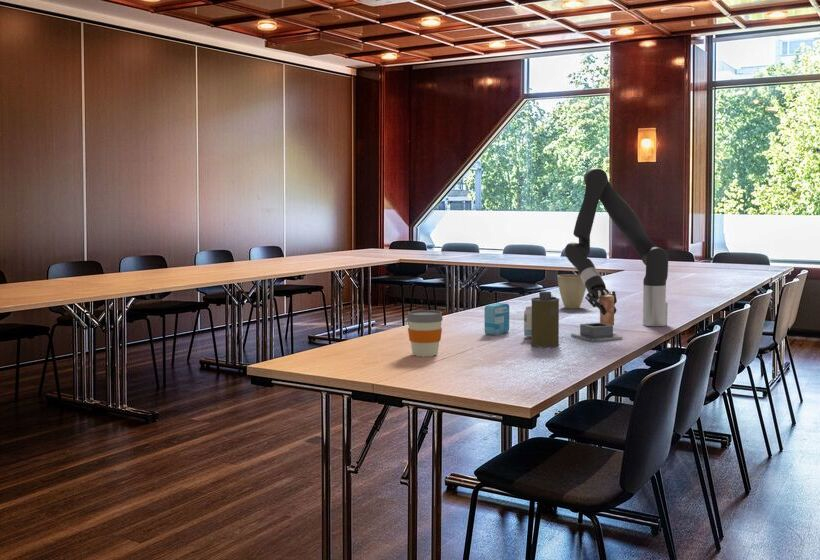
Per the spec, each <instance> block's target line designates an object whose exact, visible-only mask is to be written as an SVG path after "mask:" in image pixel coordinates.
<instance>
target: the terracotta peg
mask: <svg viewBox="0 0 820 560" xmlns="http://www.w3.org/2000/svg"><path fill="white" fill-rule="evenodd" d="M600 298H601V302H602V305H603V306H604V308H605V309H606V311H607V313H606V314H605V315H603V314H602V313H601V312H600V311H599V323H603V324H607V325H611V326H613V327H614V326H615V314H614V306H615V305H614V296H612V295H601V296H600Z"/></svg>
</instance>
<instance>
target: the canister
mask: <svg viewBox="0 0 820 560" xmlns="http://www.w3.org/2000/svg"><path fill="white" fill-rule="evenodd" d="M538 294H539V296H538V297H532V298H530V301H531V307H532V339H531V343H530V345H531V346H532V347H536V348H537V347H538V348H556V347H558V346H560V341H559V338H560V335H559V333H560V332H559V329H560V325H559V324H560V323H559V322H560V319H559V318H560V317H559V316H560V306H559V305H560V298H559V297H556V296H553V295H552V292H551V291H540V292H538Z"/></svg>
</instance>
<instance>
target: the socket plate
mask: <svg viewBox="0 0 820 560" xmlns="http://www.w3.org/2000/svg"><path fill="white" fill-rule="evenodd" d="M570 336H571V337H572V336H573V338H576V339H579V338H580V340H584V341H587V342H591V343H594V342H603V341H616V340H623V336H621V335H617V334H614V325H613V326H611V325H607V324H603V323H600V322H592V323H581V324H579V332H577V333H576V332H575V333H571V335H570Z"/></svg>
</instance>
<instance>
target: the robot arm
mask: <svg viewBox="0 0 820 560" xmlns="http://www.w3.org/2000/svg"><path fill="white" fill-rule="evenodd" d="M583 183H584V184H585V190H584V196H583V200H582V204H581V206H580V209H579V212H578V213H577V214H578V215H577V217H576V221H575V225H574V229H573V236H574V237H575V238H578V242H569V243H567V244H566V245H565V248H564V254H565V257H566V258H567V260H568V261H569V262H570V263H571V264H572V266H573V267H574V268H575V269H576V270H577V272H578V275H580V276H581V278H582V281H583V283H584V285H585V287H586V291H587V292H588V293H586V295H585V296H584V297H585V300H586V301H587V302H588V303H589V304H590V305H591V306H592V308H597V309H598V310H599V313H600V312H601V313H602V314H603V315H605V314H606V313H607V311H606V309H605V308H604V306H603V305H602V302H601V298H600V296H601V295H612V296H614V315H615V314H616V313H617V312H618V311H617V308H616V306H615V305H616V303H617V302H618V301H617V295H616V291H614V290H613V291H609V290H608V289H607V287H606V283H605V282H604V280H603V278H602V276H601V274H600V273H599V271H598V270H597V268H596V266H595V264H594V263H593V261H592V260H591V259H590V258H588V257H589V255H590V251H591V233H592V229H593V226H594V225H593V224H594V221H595V220H594V219H595V217H596V212H597V209H598V206H599V202H601V204H602V206H603V208H604V209H605V211H606V213H607V214H608V216H609V217H610V219H611V220H612V222H613V224H615V226H616V227H617V228H618V230H619V231H620V233H621V234H622V235H623V236H624V237H625V238H626V240H627V241H628V242H629V243H630V244H631V246H632V247H633V248H634V250H635V251H636V253H637V254H638V256H639V258H640V260H641V261H642V263H643V264H644V265H645V275H644V278H643V289H642V290H643V291H642V292H643V293H642V294H643V295H642V325H643V326H645V327H664V326H667V325H668V302H666V300H667V296H666V294H667V291H666V290H667V279H668V275H669V272H668V271H669V256H668V252H667V251H666V250H664V249H663V248H661V247H658V246H657V245H656V244H654V242H653V241H652V240H651V238H650V237H649V236H648V235H647V233H646V231H645V229H644V227H643V224H642V222H641V220H640V218H639V216H638V215H637V214H636V212H635V211H634V210H633V209H632V207H631V206H630V205H629V204H628V202H627V201H625V199H624V198H623V197H621V195H619V194H618V193H617V192H616V190H615V189H614V188H613V186H612V184H611V182H610V181H609V180H608V174H607V173H606V172H605V170H604V169H601V168H598V167H591V168H588V170H587V171H585V173H584V177H583Z"/></svg>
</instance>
